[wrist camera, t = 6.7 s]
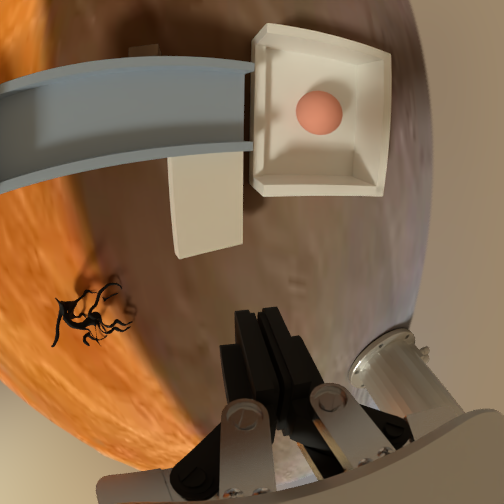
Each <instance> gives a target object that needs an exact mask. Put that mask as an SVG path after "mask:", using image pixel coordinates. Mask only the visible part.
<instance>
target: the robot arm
mask: <svg viewBox="0 0 504 504" xmlns="http://www.w3.org/2000/svg"><path fill="white" fill-rule="evenodd" d="M235 342H236V344H229V345H220V357H221V366H222V374H223V380H224V386H225V392H226V398H227V405H226V406H225V408H224V409H223V411H222V415H221V423H220V424H219V425H218V426H217V427H216V428H215V429H214V430H213V431H212V432H211V433H209V434H208V435H207V436H206V437H205V438H204V439H203V440H202V441H201V442H200V443H199V444H198V445H197V446H196V447H195V448H194V449H193V450H192V451H191V452H189V453H188V454H187V455H186V456H185V457H184V458H183V459H182V460H181V461H179V462H178V463H177V464H176V465H175V466H174V467H173V468H169V469H164V470H161V469H160V468H159V469H153V470H147V471H141V472H134V473H126V474H116V475H108V476H104V477H102V478H101V479H100V480H99V481H98V483H97V485H96V494H97V499H98V503H99V504H504V415H502V414H501V413H500V412H499V411H497V410H494V409H478V410H473V411H470V412H467V413H465V412H464V411H463V409H462V408H461V407H460V405H459V404H458V403H457V402H456V400H455V399H454V398H453V397H452V396H451V394H450V393H449V392H448V390H447V389H446V388H445V387H444V385H443V384H442V383H441V382H440V381H439V379H438V378H437V377H436V376H435V374H434V373H433V372H432V371H431V370H430V368H429V367H428V366H427V365H426V363H428V362H429V356H428V353H429V351H430V350H429V347H427V346H426V347H423V348H421V349H420V350H419V349H418V348H417V347H416V346H415V345H414V344H415V337H414V335H413V334H412V333H411V331H410V330H408V329H403V328H402V329H396V330H393V331H391V332H388V333H386V334H384V335H383V336H381V337H380V338H378V339H377V340H375V341H374V342H373V343H371V344H370V345H369V346H368V347H367V348H366V349H365V350H364V351H363V352H362V353H361V354H360V355H359V356H358V357H357V359H356V360H355V361H354V363H353V365H352V366H351V369H350V371H349V380H350V382H351V384H352V385H353V386H354V387H356V388H366V389H367V391H368V392H369V394H370V395H371V397H372V398H373V400H374V402H375V403H376V405H377V406H378V408H379V409H380V411H379V410H376V409H373V408H370V407H367V406H364V405H361V404H359V403H358V402H357V401H356V400H355V398H354V397H353V396H352V395H351V393H350V392H349V391H348V390H347V389H346V388H345V387H343V386H341V385H339V384H335V383H324V381H323V379H322V377H321V375H320V373H319V371H318V369H317V367H316V365H315V363H314V361H313V359H312V357H311V355H310V354H309V352H308V350H307V348H306V346H305V344H304V342H303V340H302V338H301V337H300V336H299V335H298V336H292V337H291V335H290V333H289V331H288V329H287V327H286V325H285V323H284V320H283V318H282V316H281V314H280V312H279V310H278V308H277V307H269V308H263V309H262V312H258V319H256V316H255V313H250V312H249V310H240V311H235ZM276 429H277V430H282V433H283V436H287V435H289V436H290V439H292V440H294V441H296V442H297V444H298V447H299V449H300V450H301V452H302V454H303V456H304V457H305V459H306V461H307V462H308V464H309V466H310V468H311V469H312V471H313V473H314V474H315V476H316V477H317V479H318V481H316V482H313V483H309V484H305V485H302V486H298V487H294V488H289V489H285V490H281V491H276V482H275V472H274V462H273V452H272V444H273V442H274V436H275V430H276Z"/></svg>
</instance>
